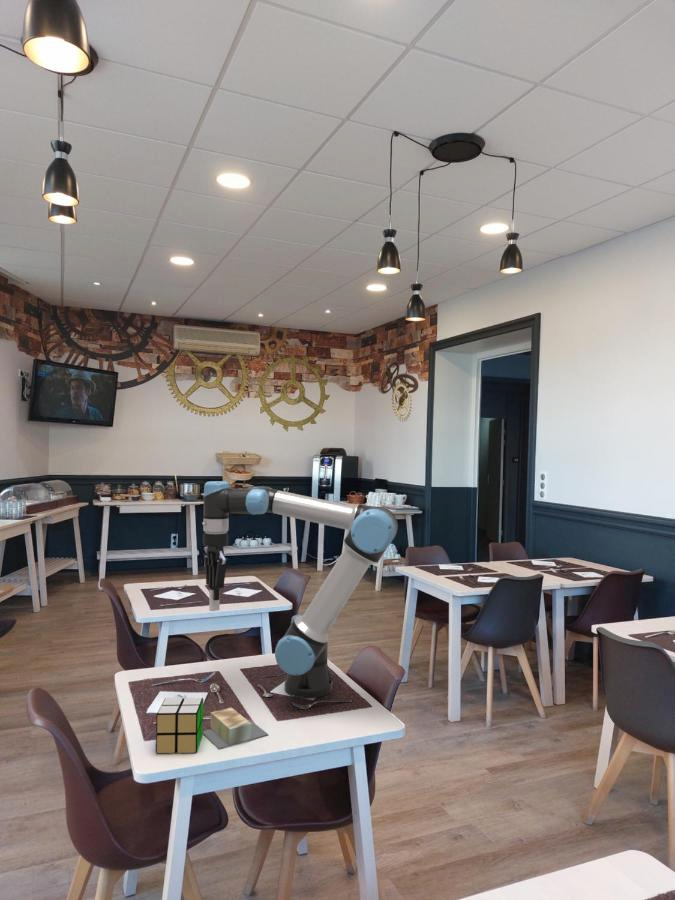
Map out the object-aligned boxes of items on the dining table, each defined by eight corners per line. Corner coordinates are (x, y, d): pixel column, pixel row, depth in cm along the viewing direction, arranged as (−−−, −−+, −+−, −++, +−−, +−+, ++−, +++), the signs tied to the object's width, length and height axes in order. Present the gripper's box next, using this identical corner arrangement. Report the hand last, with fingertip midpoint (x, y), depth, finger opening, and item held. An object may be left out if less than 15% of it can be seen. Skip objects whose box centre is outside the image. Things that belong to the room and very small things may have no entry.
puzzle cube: (164, 735, 158) (164, 697, 159) (203, 735, 159) (203, 697, 159) (155, 754, 148) (156, 713, 149) (196, 754, 149) (197, 713, 149)
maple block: (231, 707, 166) (251, 723, 157) (230, 722, 166) (251, 739, 157) (210, 712, 163) (230, 729, 153) (210, 727, 163) (229, 745, 153)
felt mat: (249, 720, 168) (249, 719, 168) (268, 735, 159) (268, 734, 159) (201, 732, 160) (201, 731, 160) (218, 749, 151) (218, 748, 151)
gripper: (195, 530, 187) (194, 607, 187) (212, 535, 177) (211, 616, 176) (218, 529, 192) (216, 604, 191) (236, 534, 181) (235, 613, 181)
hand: (214, 610), depth 184 cm, fingers closed
